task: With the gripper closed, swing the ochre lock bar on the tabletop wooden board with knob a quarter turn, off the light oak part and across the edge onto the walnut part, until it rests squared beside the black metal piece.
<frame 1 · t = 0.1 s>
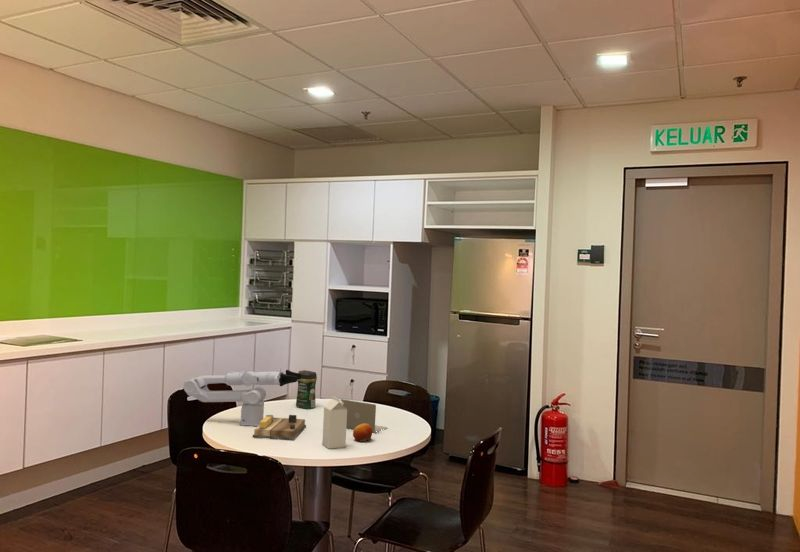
hand: (299, 377, 260), 22 cm above the table, tool horizontal, fingers open, 7 cm apart
wooden board with knob: (280, 432, 249), on the table
milk carton: (333, 446, 233), on the table
coffee jar: (305, 407, 299), on the table
laptop: (363, 429, 263), on the table
fruit: (362, 440, 243), on the table
lock bar: (266, 421, 247), point 5 cm above the table, hinge at -88.0°
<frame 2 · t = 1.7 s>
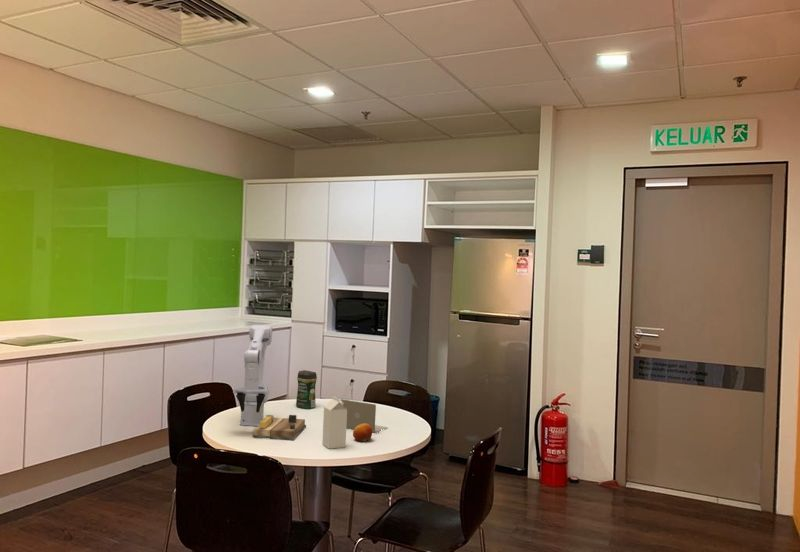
hand: (250, 411, 244), 9 cm above the table, tool pointing down, fingers open, 6 cm apart
nothing on the table moved.
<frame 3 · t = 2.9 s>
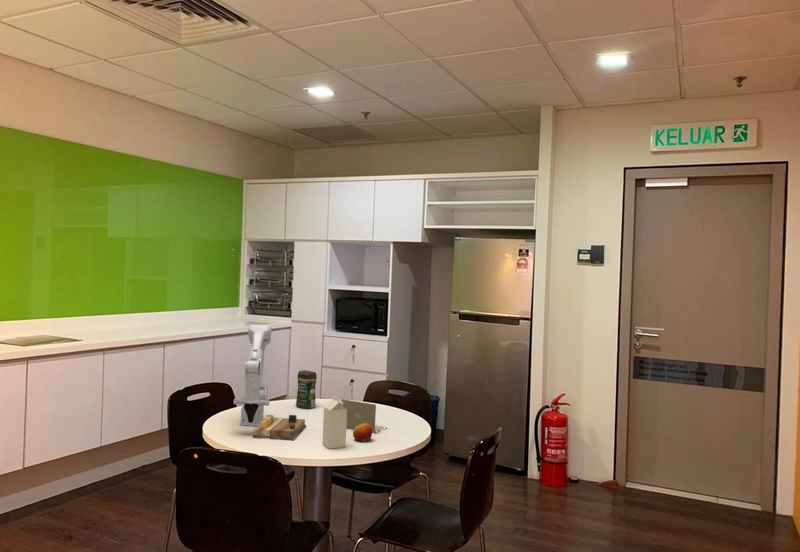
hand: (250, 422, 244), 5 cm above the table, tool pointing down, fingers closed
nothing on the table moved.
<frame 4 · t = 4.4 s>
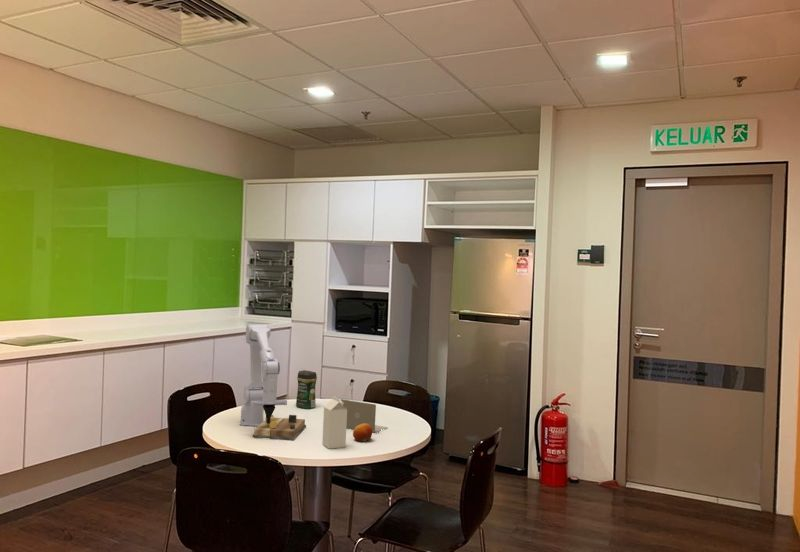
hand: (268, 423, 244), 5 cm above the table, tool pointing down, fingers closed, pressing on lock bar
lock bar: (271, 421, 247), point 5 cm above the table, hinge at -65.5°, touching gripper
everything else where it was.
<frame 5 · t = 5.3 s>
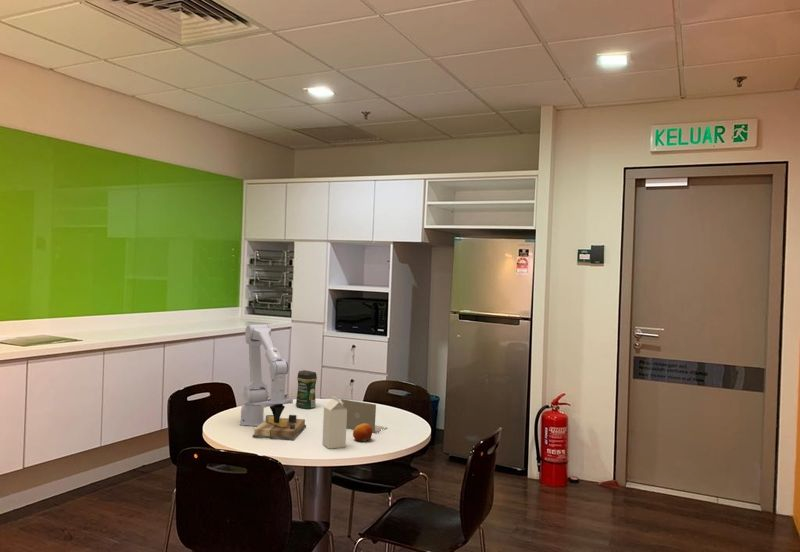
hand: (276, 422, 245), 5 cm above the table, tool pointing down, fingers closed, pressing on lock bar
lock bar: (275, 420, 248), point 5 cm above the table, hinge at -41.6°, touching gripper
everything else where it was.
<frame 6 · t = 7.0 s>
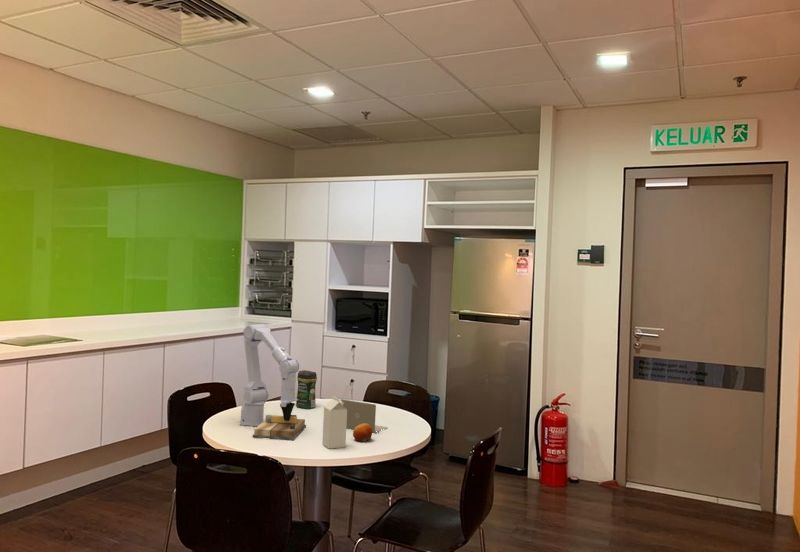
hand: (286, 420, 250), 5 cm above the table, tool pointing down, fingers closed
lock bar: (280, 419, 251), point 5 cm above the table, hinge at 1.4°, touching gripper
everything else where it was.
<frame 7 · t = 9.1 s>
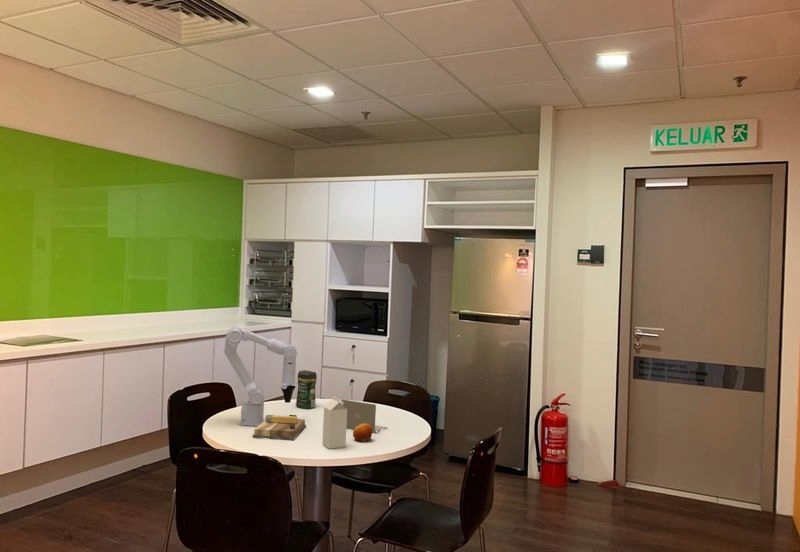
hand: (287, 402, 265), 9 cm above the table, tool pointing down, fingers closed
lock bar: (280, 419, 251), point 5 cm above the table, hinge at 1.5°
everything else where it was.
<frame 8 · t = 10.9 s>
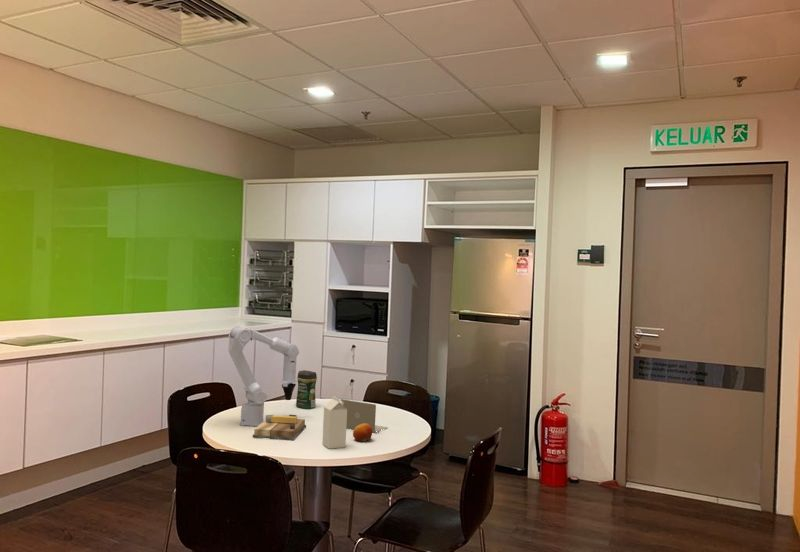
hand: (288, 399, 270), 9 cm above the table, tool pointing down, fingers closed
nothing on the table moved.
at the end: lock bar at +2° (first picture: -88°); milk carton moved 0.2 cm from its start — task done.
